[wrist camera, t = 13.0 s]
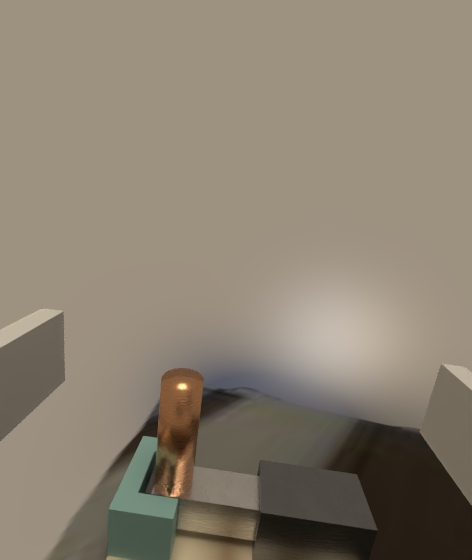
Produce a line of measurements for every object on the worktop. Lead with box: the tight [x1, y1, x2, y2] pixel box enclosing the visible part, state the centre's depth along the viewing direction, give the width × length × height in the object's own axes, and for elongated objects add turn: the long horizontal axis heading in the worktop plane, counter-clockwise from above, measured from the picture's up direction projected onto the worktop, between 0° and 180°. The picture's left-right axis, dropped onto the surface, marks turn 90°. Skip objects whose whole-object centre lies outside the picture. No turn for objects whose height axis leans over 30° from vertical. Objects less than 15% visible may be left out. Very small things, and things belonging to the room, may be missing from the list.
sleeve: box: [252, 460, 378, 560], centre depth 33 cm, size 11×6×6 cm, turn 86°
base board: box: [106, 529, 252, 560], centre depth 34 cm, size 25×10×1 cm, turn 86°
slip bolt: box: [145, 368, 260, 541], centre depth 32 cm, size 15×4×16 cm, turn 86°
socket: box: [108, 436, 178, 560], centre depth 34 cm, size 6×9×6 cm, turn 176°
